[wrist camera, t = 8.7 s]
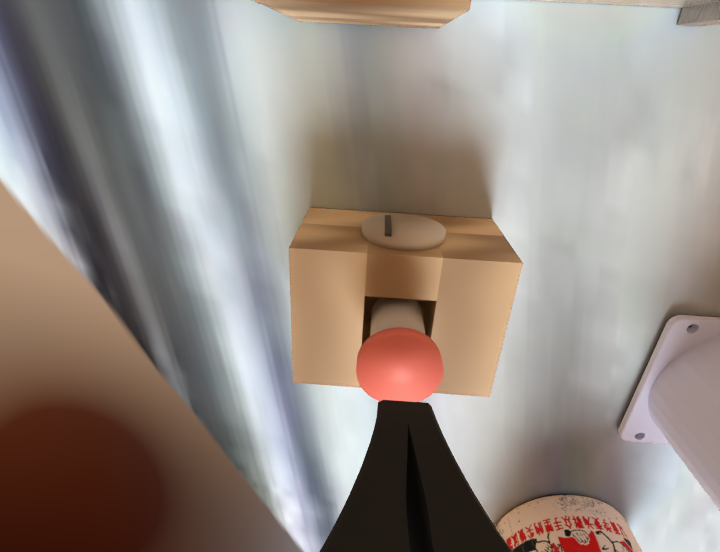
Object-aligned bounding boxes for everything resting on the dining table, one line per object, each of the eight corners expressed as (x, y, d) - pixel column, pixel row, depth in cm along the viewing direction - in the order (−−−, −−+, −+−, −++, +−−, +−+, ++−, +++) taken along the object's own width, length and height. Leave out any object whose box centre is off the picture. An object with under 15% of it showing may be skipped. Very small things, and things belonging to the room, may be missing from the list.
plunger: (436, 285, 16) (449, 339, 13) (427, 345, 17) (437, 408, 14) (363, 280, 16) (358, 333, 13) (359, 340, 17) (354, 402, 14)
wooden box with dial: (494, 209, 18) (525, 252, 14) (469, 333, 21) (489, 396, 17) (309, 198, 18) (288, 236, 14) (310, 321, 21) (293, 382, 17)
